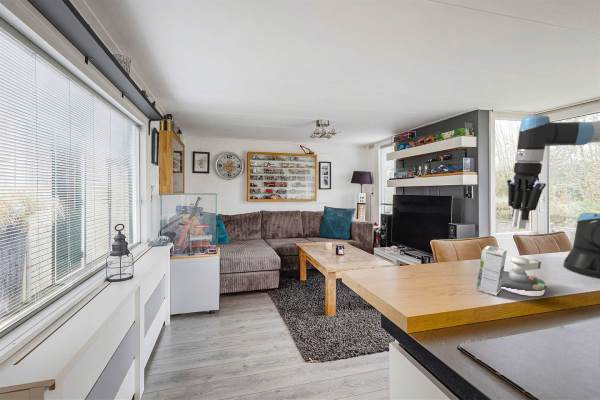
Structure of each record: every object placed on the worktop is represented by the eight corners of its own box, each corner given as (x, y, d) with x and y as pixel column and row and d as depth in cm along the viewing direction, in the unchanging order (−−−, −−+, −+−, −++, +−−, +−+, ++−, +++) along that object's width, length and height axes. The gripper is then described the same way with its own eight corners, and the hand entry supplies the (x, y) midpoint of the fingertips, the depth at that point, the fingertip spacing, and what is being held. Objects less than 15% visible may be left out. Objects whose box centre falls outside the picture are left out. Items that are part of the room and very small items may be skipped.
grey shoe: (517, 275, 105) (519, 263, 104) (557, 295, 90) (560, 281, 89) (480, 276, 103) (481, 264, 102) (515, 297, 88) (517, 283, 87)
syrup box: (480, 285, 96) (485, 244, 94) (501, 291, 92) (507, 249, 90) (475, 290, 92) (481, 248, 90) (497, 297, 88) (503, 253, 86)
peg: (520, 275, 93) (522, 262, 92) (506, 269, 97) (508, 257, 96) (544, 271, 96) (546, 259, 95) (529, 266, 100) (531, 254, 99)
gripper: (501, 161, 104) (493, 222, 108) (538, 162, 90) (526, 233, 94) (520, 161, 105) (511, 222, 109) (558, 163, 91) (546, 233, 95)
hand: (518, 227), depth 102 cm, fingers closed
